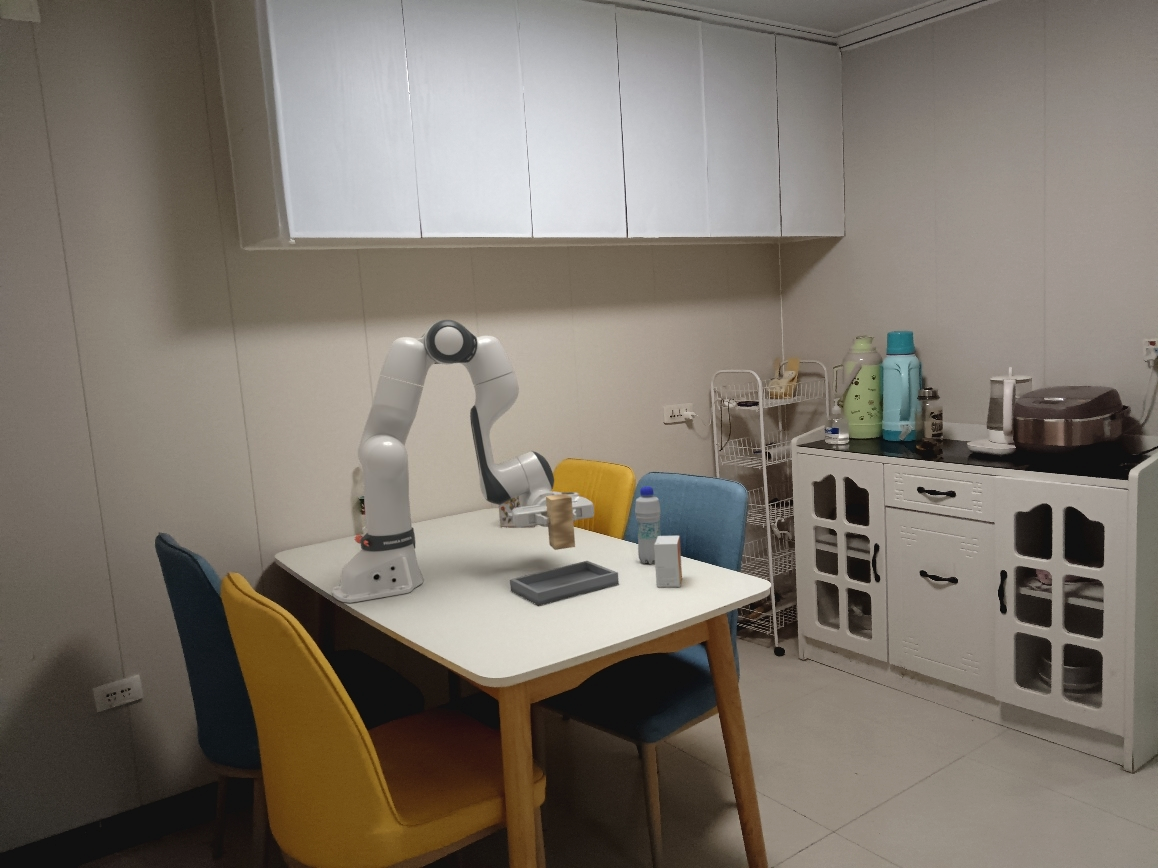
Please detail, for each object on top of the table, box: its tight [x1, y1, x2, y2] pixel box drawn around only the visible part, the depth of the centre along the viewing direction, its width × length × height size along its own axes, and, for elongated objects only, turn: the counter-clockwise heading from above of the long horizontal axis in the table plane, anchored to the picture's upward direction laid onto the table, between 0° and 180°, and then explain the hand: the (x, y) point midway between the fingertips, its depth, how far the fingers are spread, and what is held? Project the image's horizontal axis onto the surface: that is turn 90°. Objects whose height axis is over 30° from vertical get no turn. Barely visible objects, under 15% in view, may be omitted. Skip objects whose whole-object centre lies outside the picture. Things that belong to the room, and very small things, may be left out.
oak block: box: [546, 494, 576, 551], centre depth 193 cm, size 5×5×12 cm
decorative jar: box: [498, 496, 537, 528], centre depth 264 cm, size 12×12×18 cm
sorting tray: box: [509, 560, 619, 607], centre depth 195 cm, size 22×14×3 cm, turn 122°
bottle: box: [634, 486, 662, 565], centre depth 211 cm, size 7×7×20 cm
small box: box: [654, 535, 683, 588], centre depth 194 cm, size 8×6×10 cm
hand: (560, 519), depth 193 cm, fingers closed on oak block, 5 cm apart
